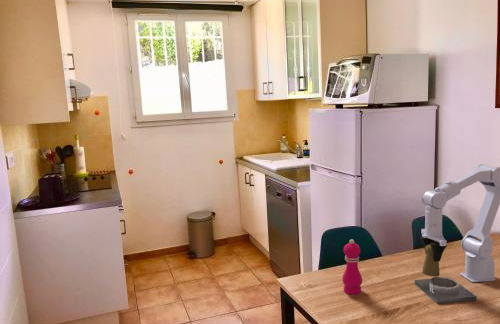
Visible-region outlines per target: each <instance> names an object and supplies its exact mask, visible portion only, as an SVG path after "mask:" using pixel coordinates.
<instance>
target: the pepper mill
mask: <svg viewBox="0 0 500 324" xmlns="http://www.w3.org/2000/svg"><path fill="white" fill-rule="evenodd" d="M343 254H344V255H345V256H344V261H346V262H345V263H346V266H345V267H346V268H345V270H344V272H343V275H342V280H341V281H342V283H343V292H344V293H345V294H348V295H351V296H352V295H353V296H355V295H356V296H357V295H359V294H361V293H362V287H361V285H362V284H363V277H362V274H361V271H360V269H359V267H358V266H359V264H358V262H359V261H360V254H361V248H360V245H359V244H357V243H356V242H355V240H354V239H352V238H351V239H349V242H348V243H347V244H345V245H344V246H343Z"/></svg>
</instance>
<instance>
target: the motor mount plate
mask: <svg viewBox="0 0 500 324" xmlns="http://www.w3.org/2000/svg"><path fill="white" fill-rule="evenodd" d="M414 285H415V286H416V287H418V288H419V289H420V290H421V291H422V292H424V294H425V295H427V296H428V297H429V298H430V299H431V300H432V301H434V302H435V303H436V305H441V304H451V303H463V302H474V301H477V296H476V295H475V294H474V293H472V292H471V291H469V289H467V288H465V287H464V286H462V284H460V282H458V281H457V280H455V279H453V278H452V277H450V276H449V277H444V276H436V277H433V276H432V277H431V278H423V279H414Z"/></svg>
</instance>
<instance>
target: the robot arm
mask: <svg viewBox="0 0 500 324" xmlns="http://www.w3.org/2000/svg"><path fill="white" fill-rule="evenodd" d="M478 182H479V183H480V184H481V185H482V186H483V187H484V189H485V190H486V193H485V195H484V198H483V201H482V204H481V206H480V210H479V212H478V215H477V218H476V221H475V223H474V226H473V228H472V229H471V230H468V231H467V232H466V234H465V236H464V237H463V238H462V239H461V244H460V245H461V249H462V250H463V251H464V254H465V263H464V266H465V267H464V268H465V269H464V272H460V273H459V274H460V275H461V276H463V277H464V278H465V279H466V280H468V281H469V282H471V283H479V282H481V283H482V282H493V281H496V278H495V265H496V264H495V261H494V258H493V257H492V256H491V255H492V253H493V246H494V245H493V244H494V240H493V238H492V237H491V235H490V233H491V230H492V227H493V224H494V221H495V218H496V216H497V213H498V211H499V208H500V166H493V165H487V164H484V163H483V164H481V163H480V164H478V165H477V166H474V167H473V168H472V169H471V171H470V172H468V173H466V174H465V175H463V176H462V177H461V178H459V179H457V180H456V181H453V180H446V181H445V183H444V184H442V185H440V186H438V187H435V188H434V189H433V190H427V191H425V192H424V194H423V195H422V197H421V201H422V203H423V205H424V209H425V210H424V211H425V212H424V213H425V214H424V218H425V220H424V228H421V229H420V231H421V236H420V237H419V238H420V240H421V243H422V244H423V247H424V249H425V247H426V246H427V245H429V244H430V245H431V248H432V251H433V259H434V261H435V262H436V261H439V262H441V259H442V256H443V254H444V251H445V249H446V248H447V247H448V244H447V242H448V241H447V240H446V239H445V237H444V235H443V208H444V207H445V206H446V204H447V203H448V201H450V200H452V199H454V198H455V197H457V196H459V195H461V191H462V190H463V189H465V188H468V187H469V186H472V185H474V184H475V183H478ZM424 251H425V250H424ZM425 254H426V251H425Z"/></svg>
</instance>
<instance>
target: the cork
mask: <svg viewBox="0 0 500 324" xmlns="http://www.w3.org/2000/svg"><path fill="white" fill-rule="evenodd" d="M424 251H426V253H425V257H424V262H423V266H422V274H423V275H426V276H428V277H432V278H433V277H440V261H436V262H435V261H434V259H433V251H432V248H431V245H430V244H429V245H427V246H426V247H425V248H424Z"/></svg>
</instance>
